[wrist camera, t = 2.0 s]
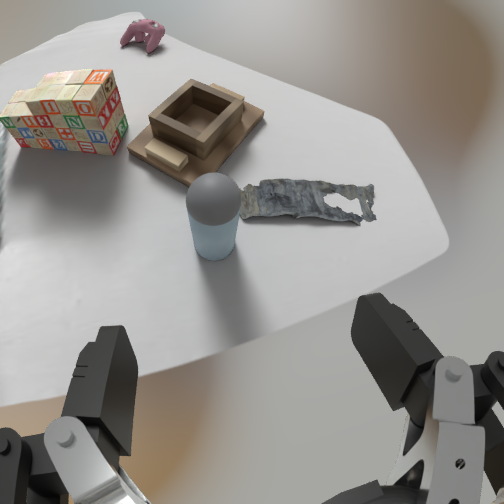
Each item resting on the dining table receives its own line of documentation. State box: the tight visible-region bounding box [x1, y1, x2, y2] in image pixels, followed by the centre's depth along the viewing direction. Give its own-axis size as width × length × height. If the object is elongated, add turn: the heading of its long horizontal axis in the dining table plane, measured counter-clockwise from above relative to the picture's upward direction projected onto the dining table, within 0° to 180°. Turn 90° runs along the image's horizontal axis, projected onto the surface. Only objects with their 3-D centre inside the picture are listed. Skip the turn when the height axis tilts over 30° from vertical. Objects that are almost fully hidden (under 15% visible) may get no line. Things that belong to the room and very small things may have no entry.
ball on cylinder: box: [186, 173, 241, 261], centre depth 31 cm, size 5×5×14 cm
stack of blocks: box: [0, 69, 128, 156], centre depth 34 cm, size 21×6×12 cm, turn 80°
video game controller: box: [120, 19, 165, 53], centre depth 46 cm, size 10×5×7 cm, turn 58°
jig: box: [127, 79, 264, 187], centre depth 39 cm, size 17×13×6 cm
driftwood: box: [239, 179, 376, 226], centre depth 40 cm, size 21×7×2 cm, turn 90°
